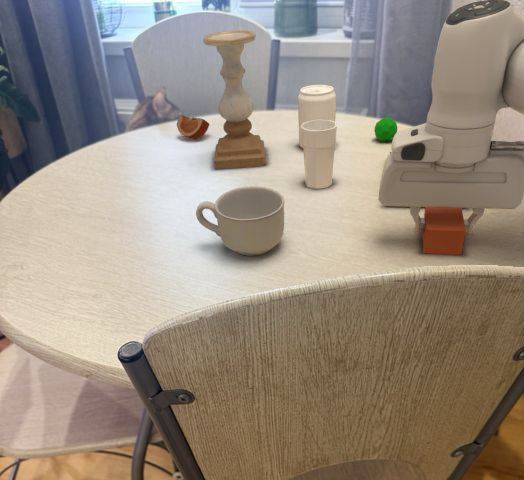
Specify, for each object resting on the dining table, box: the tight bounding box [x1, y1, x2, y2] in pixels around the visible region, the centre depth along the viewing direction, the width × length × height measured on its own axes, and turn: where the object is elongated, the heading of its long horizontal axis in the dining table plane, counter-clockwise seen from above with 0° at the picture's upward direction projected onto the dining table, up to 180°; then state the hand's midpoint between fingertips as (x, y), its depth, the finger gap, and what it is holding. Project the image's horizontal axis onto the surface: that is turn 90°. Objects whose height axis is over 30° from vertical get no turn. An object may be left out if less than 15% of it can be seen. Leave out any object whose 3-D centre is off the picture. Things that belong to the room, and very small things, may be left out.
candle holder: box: [202, 30, 267, 170], centre depth 110 cm, size 11×11×24 cm
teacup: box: [195, 185, 285, 257], centre depth 84 cm, size 14×11×8 cm
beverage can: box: [297, 84, 337, 149], centre depth 117 cm, size 8×8×12 cm
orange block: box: [421, 207, 466, 256], centre depth 82 cm, size 6×8×4 cm
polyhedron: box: [374, 116, 398, 142], centre depth 119 cm, size 5×5×5 cm
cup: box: [301, 120, 338, 190], centre depth 101 cm, size 7×7×11 cm
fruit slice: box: [176, 114, 210, 140], centre depth 130 cm, size 8×7×5 cm
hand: (442, 231), depth 83 cm, fingers closed on orange block, 5 cm apart
